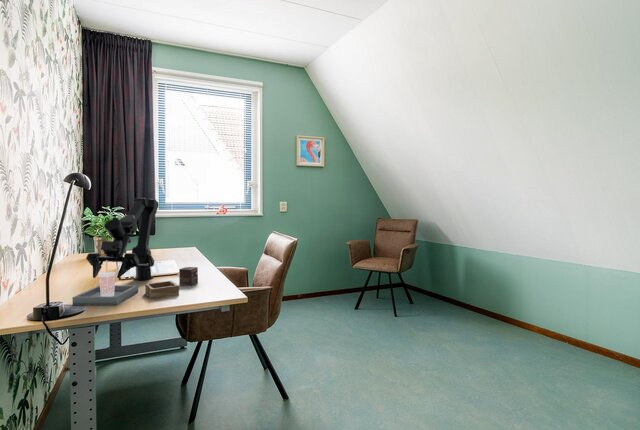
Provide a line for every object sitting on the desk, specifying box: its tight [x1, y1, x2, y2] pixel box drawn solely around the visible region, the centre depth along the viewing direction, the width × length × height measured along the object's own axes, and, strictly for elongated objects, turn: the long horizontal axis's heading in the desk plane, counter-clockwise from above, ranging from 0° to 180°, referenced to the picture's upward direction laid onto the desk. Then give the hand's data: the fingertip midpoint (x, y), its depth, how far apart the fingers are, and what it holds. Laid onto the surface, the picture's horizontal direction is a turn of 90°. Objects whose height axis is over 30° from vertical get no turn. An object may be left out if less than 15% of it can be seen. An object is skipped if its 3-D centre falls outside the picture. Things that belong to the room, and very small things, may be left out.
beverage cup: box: [97, 260, 117, 297], centre depth 151 cm, size 6×6×14 cm
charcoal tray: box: [72, 284, 139, 306], centre depth 151 cm, size 18×16×3 cm
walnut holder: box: [144, 280, 180, 300], centre depth 157 cm, size 10×10×4 cm
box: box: [178, 266, 199, 287], centre depth 175 cm, size 6×6×7 cm
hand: (105, 277), depth 150 cm, fingers open, 9 cm apart
